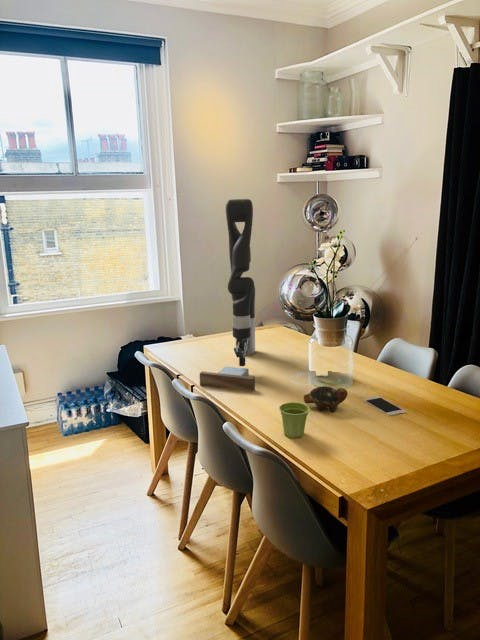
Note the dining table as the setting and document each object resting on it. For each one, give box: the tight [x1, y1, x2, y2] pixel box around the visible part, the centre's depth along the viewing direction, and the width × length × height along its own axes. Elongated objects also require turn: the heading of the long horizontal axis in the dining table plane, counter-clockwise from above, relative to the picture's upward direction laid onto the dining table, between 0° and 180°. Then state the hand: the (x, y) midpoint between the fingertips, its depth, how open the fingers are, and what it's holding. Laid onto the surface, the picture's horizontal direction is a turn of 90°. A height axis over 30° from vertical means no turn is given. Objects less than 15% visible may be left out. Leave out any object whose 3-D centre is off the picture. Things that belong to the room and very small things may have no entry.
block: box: [217, 365, 250, 377], centre depth 208 cm, size 11×10×4 cm
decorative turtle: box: [303, 385, 349, 413], centre depth 180 cm, size 10×15×8 cm, turn 80°
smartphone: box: [362, 396, 407, 416], centre depth 181 cm, size 7×15×1 cm, turn 22°
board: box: [199, 371, 256, 392], centre depth 201 cm, size 2×22×5 cm, turn 70°
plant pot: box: [278, 401, 311, 439], centre depth 160 cm, size 9×9×9 cm
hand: (242, 365), depth 217 cm, fingers closed
